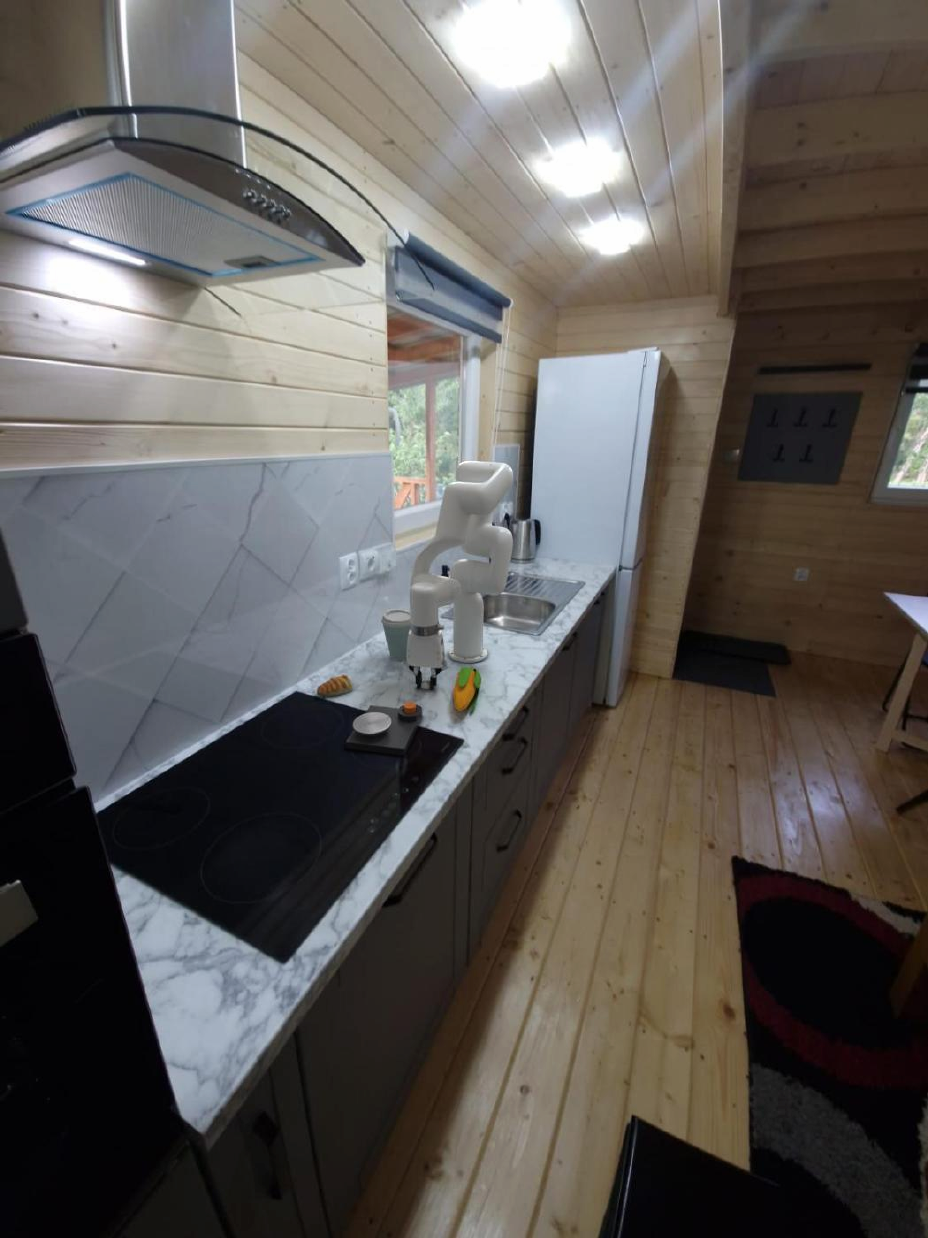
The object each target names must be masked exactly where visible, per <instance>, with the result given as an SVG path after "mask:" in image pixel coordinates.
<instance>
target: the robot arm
mask: <svg viewBox="0 0 928 1238" xmlns="http://www.w3.org/2000/svg"><path fill="white" fill-rule="evenodd" d="M455 480H456V481H454V482H450V483H448V484H447V485H446V486H445V488H444V490H443V494H442V500H441V505H440V509H439V515H438V519H437V524H436V530H435V534H434V536H433V537H432V539H430V540H429V541H428V542H427V543H426V544H425V545H424V547H422V549H421V550H420V552H419V553H418V554H417V556H416V558H415V560H414V563H413V567H412V572H411V575H410V582H409V583H410V588H409V611H410V615H411V630H410V631H409V635H408V641H407V656H406V658H405V660H403V661H402V663H401V665H402V666H404V667H405V668H407V669H408V670H409V671H410V672H412V674H413V676H414V683H415V685H416V689H418V690H419V689H421V682H422V681H423V672H422V671H421V668H426V669H427V668H429V669H430V676H429V680H430V689H429V690H430V691H433V690H434V689H435V687H436V686H438V675H440V674H441V673H442V672H444V671H447V670H449V668H450V664H449V663H448V661H447V660H446V653H445V652H446V651H445V642H444V641H445V640H444V636H443V632H442V631H444V630H445V625H444V624H441V623H440V621H439V609H440V608H441V607H446V606H450V605H453V607H452V608H453V609H452V610H453V611H452V612H453V613H452V614H453V615H452V616H453V620H452V621H453V625H452V626H453V627H452V628H453V631H452V632H453V633H452V636H453V638H452V639H453V641H452V642H453V644H452V646H451V647H450V648H449V649H448V656H449V658H451V659H452V660H453V661H455V662H459V663H464V664H473V663H478V662H481V661H483V660H485V659H486V658H487V657H488V650H487V648H486V647H485V646H483V645H484V617H485V616H484V614H485V613H484V612H485V611H484V610H485V604H484V599H483V597H482V595H486V596H493V597H496V596H500V595H501V594H503V593H504V591H505V588H506V586H507V582H508V577H509V572H510V565H511V562H512V561H511V560H512V554H513V547H514V538H513V534H512V532H511V531H510V529H508V527H507V528H506V527H504V526H499V525H493V520H494V513H495V509H496V508H497V507H498V506H499V505H500V503H501V502H502V500H504V498H505V496H506V495H507V494H508V493H509V492H510V489H511V488H512V485H513V482H514V472H513V469H512V467H511V466H510V465H509V464H507V463H504V462H497V461H496V462H495V461H481V460H468V461H463V462H460V463H459V464H458V465H457V467H456V469H455ZM458 547H460V549H461V551H462V552H463V553H464V554H466V555H470V556H475V557H481V558H487V559H490V562H486V561H483V560H476V559H470V558H462V559H458V560H456V561H455V562H453V563H452V565H451V567H450V571H449V576H445V575H439V574H433V573H430V570H431V566H432V565H433V562H434V561H435V559H437V557H439V555H441V554H443V553H445V552H447V551H448V550H451V549H455V548H458Z"/></svg>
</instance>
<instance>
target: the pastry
mask: <svg viewBox="0 0 928 1238" xmlns="http://www.w3.org/2000/svg"><path fill="white" fill-rule="evenodd" d="M353 688H354V686H353V683H352V681H351V680H350V677H349V676H348V675H347V674H341V675H338V676H334V677H331V678H329V679H328V680H327V681H325V682H323V683H322V684H320V685H319V686H318V687H317V689H316V694H317V695H318V696H321V697H324V698H329V697H336V696H340V695H344V694H347V693H350V692H351V691H352V690H353Z"/></svg>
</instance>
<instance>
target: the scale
mask: <svg viewBox="0 0 928 1238" xmlns="http://www.w3.org/2000/svg"><path fill="white" fill-rule="evenodd" d="M415 704H416V712H415V713H412V714H406V713H405V712H404V704H403V705H401V706H399V707H392V706H391V707H390V706H381V705H371V704H370V705H369V707H368V708H367V709H366V711H365V713H364V714H366V713H371V712H379V713H384V714H386V715H388V716H389V717H390V719H391V726H390V728H389V729H388V730H387V731H385V732H384V733H381V734H378V735H374V736H365V735H361V734H358V733H357V732H355V731H354V729H353V730H352V731H351V733H350V735H348V738H347V739H346V741H345V748H346V749H348V750H349V749H350V750H355V751H356V750H357V751H364V752H373V753H380V754H388V755H396V756H402V757H403V756H406V753H407V751H408V749H409V747H410V745H411V743H412V740H413V739H414V736H415V735H416V732H417V730H418V728H419V726H420V724H421V722H422V720H423V718H424V717H423V716H424V715H423V708H422V706H421V705H419V704H417V703H415Z"/></svg>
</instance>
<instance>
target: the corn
mask: <svg viewBox="0 0 928 1238" xmlns="http://www.w3.org/2000/svg"><path fill="white" fill-rule="evenodd" d="M459 670H460V671H458V673H457V675H456V677H455V678H456V679H455V683H454V687H453V691H452V700H453V704H454V709H455V710H456V711H458V712H462V711H464V710H465V709H467V708H468V706H469V705H470V704H471V705H470V709H469V712H472V711H473V709H474V708H475V705H476V703H477V701H478V698H479V695H480V688H481V684H482V676H481V672H479V670H478V669H477V668H473V667H471V666H462V667H461V668H460V669H459Z"/></svg>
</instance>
